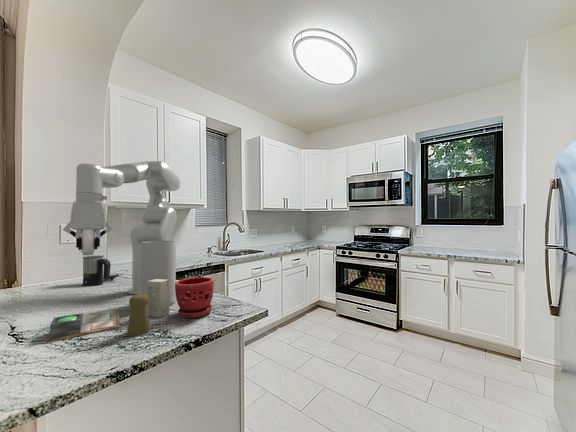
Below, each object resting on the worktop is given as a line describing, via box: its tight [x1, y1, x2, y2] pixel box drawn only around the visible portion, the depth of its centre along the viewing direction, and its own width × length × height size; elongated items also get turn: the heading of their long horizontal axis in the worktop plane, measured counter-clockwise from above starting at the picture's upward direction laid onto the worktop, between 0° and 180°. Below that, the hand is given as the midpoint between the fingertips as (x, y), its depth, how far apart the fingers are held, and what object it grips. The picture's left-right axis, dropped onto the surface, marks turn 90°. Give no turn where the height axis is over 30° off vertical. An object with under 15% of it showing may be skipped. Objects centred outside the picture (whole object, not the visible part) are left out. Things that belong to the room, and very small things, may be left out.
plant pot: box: [175, 276, 214, 319], centre depth 93 cm, size 13×13×12 cm
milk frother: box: [81, 255, 120, 287], centre depth 142 cm, size 14×16×15 cm
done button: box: [57, 316, 77, 323], centre depth 76 cm, size 4×4×2 cm
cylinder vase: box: [141, 240, 177, 306], centre depth 105 cm, size 12×12×25 cm
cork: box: [126, 294, 151, 337], centre depth 78 cm, size 6×6×11 cm
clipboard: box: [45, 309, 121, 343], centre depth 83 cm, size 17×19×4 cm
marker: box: [80, 227, 96, 256], centre depth 93 cm, size 4×4×10 cm
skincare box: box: [147, 279, 170, 318], centre depth 92 cm, size 6×4×12 cm
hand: (88, 248), depth 93 cm, fingers closed on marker, 4 cm apart
